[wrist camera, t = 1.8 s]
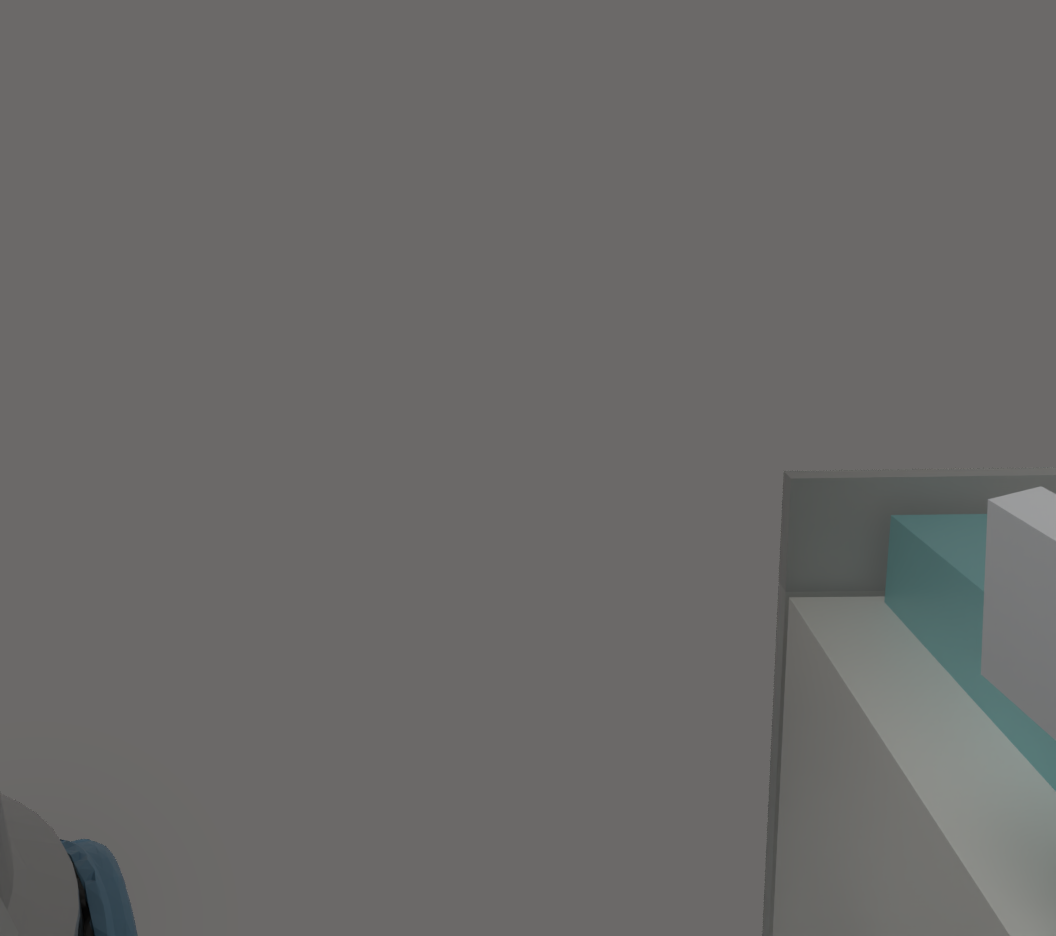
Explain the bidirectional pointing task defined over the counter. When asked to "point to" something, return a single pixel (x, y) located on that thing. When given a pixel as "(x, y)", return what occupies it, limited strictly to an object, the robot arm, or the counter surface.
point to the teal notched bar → (956, 615)
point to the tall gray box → (890, 737)
